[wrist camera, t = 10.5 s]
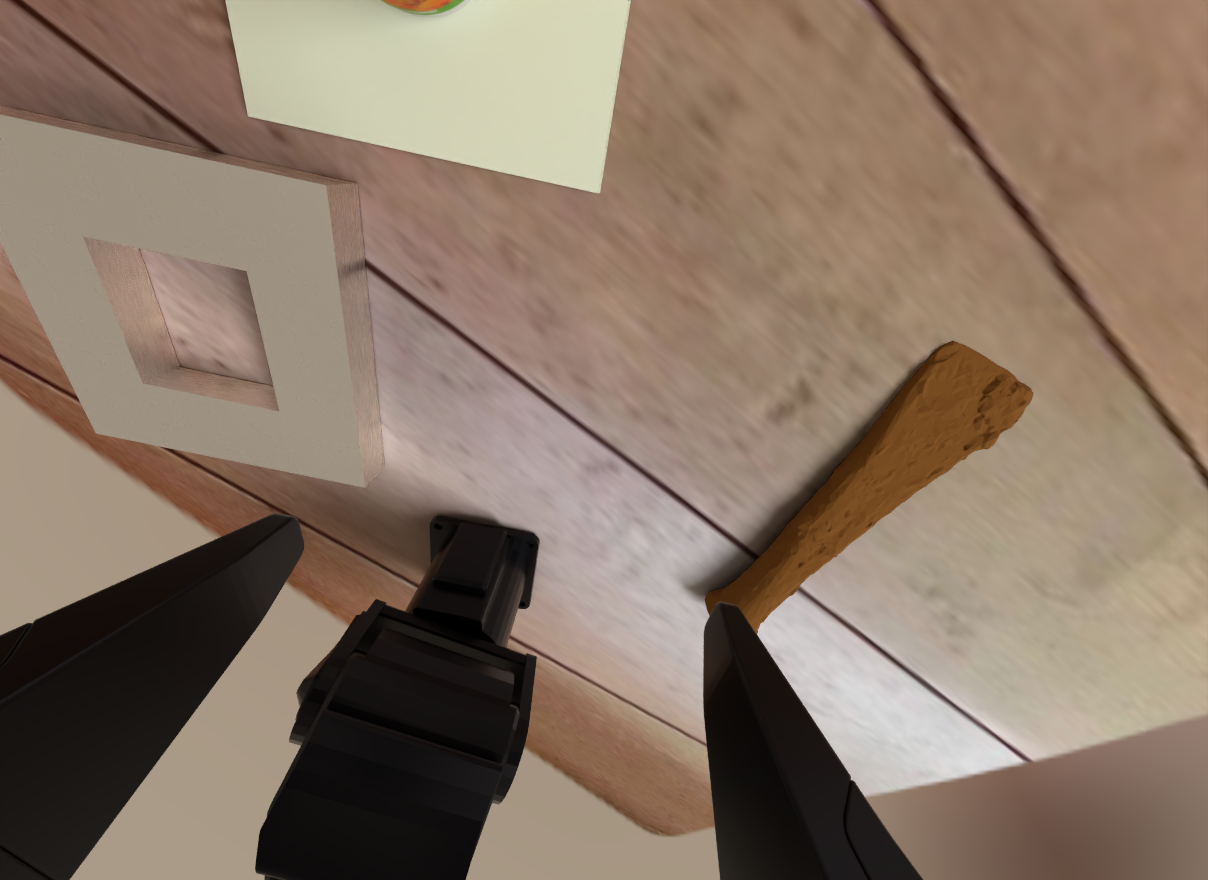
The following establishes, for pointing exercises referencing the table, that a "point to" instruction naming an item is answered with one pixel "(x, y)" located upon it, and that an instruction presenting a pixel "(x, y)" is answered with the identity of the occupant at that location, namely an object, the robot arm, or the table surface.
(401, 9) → the supplement bottle
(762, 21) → the table surface
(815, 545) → the primitive tool
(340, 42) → the sage pad
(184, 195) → the post foot
